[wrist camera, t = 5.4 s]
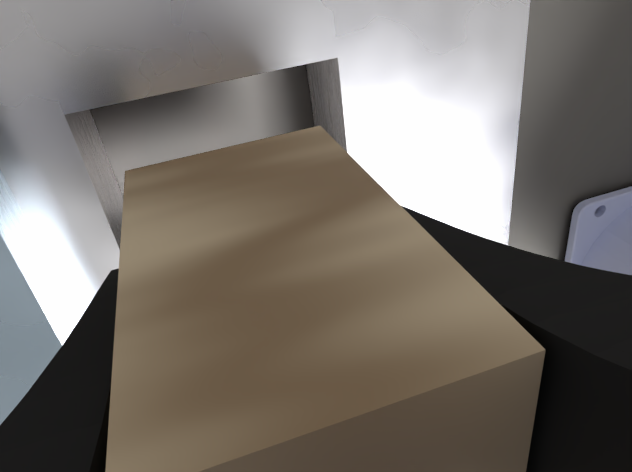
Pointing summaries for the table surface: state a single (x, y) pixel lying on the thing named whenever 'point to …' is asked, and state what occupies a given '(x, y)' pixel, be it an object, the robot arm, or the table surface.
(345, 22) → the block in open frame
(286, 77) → the table surface
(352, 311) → the tan tall block
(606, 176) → the table surface
